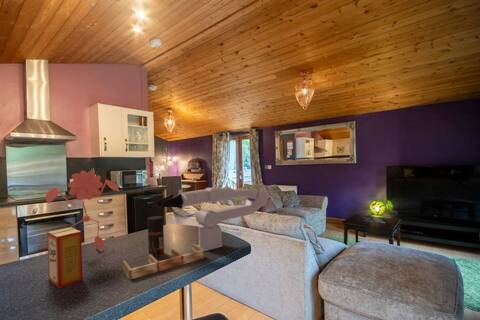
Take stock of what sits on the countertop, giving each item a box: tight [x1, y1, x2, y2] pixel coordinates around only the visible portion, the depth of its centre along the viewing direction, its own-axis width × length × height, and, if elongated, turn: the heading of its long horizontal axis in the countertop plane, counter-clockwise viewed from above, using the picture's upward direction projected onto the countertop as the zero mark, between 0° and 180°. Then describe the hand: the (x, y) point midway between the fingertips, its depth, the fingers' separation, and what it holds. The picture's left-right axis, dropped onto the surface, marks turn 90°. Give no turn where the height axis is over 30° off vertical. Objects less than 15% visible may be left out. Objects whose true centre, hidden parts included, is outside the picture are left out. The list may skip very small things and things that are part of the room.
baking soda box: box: [46, 227, 84, 289], centre depth 80 cm, size 10×6×16 cm
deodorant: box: [147, 215, 165, 259], centre depth 100 cm, size 6×6×15 cm
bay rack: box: [122, 243, 206, 281], centre depth 91 cm, size 27×10×3 cm, turn 126°
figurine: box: [45, 169, 120, 263], centre depth 101 cm, size 15×26×35 cm, turn 136°
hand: (159, 203), depth 96 cm, fingers open, 7 cm apart
